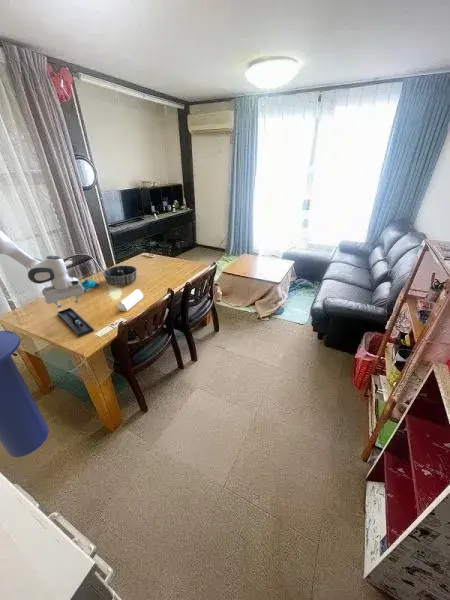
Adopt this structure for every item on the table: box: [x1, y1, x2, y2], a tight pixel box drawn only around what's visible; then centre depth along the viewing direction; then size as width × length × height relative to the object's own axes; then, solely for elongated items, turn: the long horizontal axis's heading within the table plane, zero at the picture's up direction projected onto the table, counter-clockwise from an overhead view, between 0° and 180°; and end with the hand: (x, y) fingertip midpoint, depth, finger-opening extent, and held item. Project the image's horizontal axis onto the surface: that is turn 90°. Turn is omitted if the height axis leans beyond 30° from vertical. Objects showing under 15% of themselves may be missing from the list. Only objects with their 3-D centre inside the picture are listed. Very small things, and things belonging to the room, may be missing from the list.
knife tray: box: [57, 307, 94, 338], centre depth 158 cm, size 8×35×2 cm, turn 47°
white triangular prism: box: [116, 288, 144, 312], centre depth 178 cm, size 7×7×24 cm
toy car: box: [80, 279, 100, 292], centre depth 199 cm, size 11×18×7 cm, turn 151°
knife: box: [66, 311, 83, 327], centre depth 157 cm, size 31×3×4 cm, turn 43°
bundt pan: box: [102, 264, 138, 287], centre depth 210 cm, size 26×26×10 cm
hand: (68, 304), depth 152 cm, fingers open, 8 cm apart
